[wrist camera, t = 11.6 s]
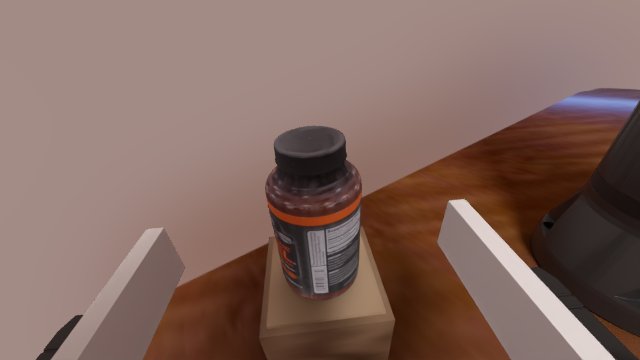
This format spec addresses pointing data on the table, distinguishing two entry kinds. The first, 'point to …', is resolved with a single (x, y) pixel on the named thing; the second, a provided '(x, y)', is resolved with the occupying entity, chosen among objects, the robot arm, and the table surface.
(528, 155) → the table surface
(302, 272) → the supplement bottle
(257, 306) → the table surface
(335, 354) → the light wooden box
